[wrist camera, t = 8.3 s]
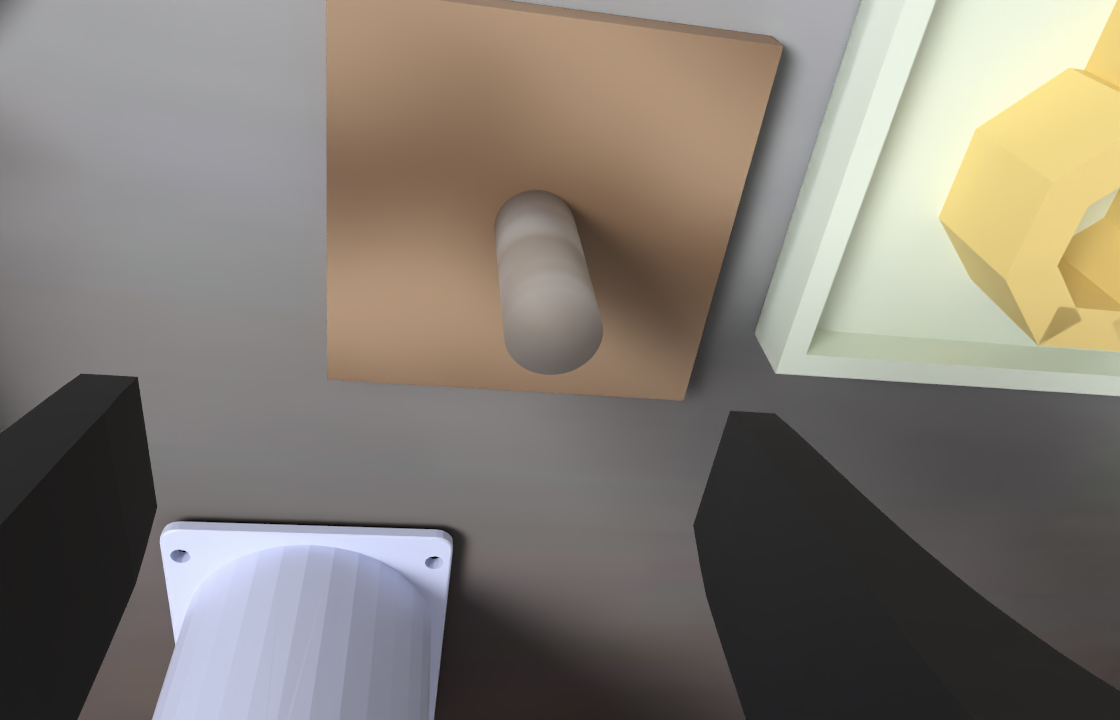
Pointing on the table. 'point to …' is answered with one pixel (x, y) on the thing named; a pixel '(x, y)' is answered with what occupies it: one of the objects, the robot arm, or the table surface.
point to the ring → (1048, 205)
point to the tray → (920, 202)
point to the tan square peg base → (531, 192)
